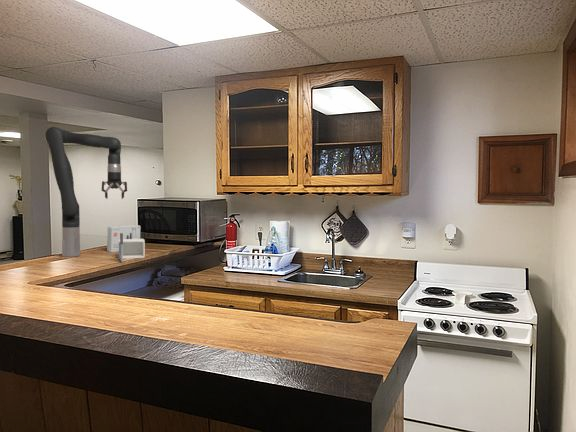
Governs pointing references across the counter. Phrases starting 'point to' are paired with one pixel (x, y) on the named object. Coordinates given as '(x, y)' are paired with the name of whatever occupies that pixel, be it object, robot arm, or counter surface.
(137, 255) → the carton
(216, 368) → the counter surface
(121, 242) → the front flap
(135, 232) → the skincare box
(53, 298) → the counter surface
